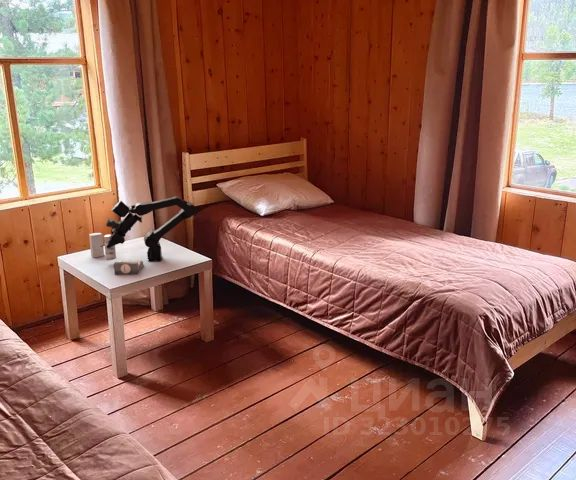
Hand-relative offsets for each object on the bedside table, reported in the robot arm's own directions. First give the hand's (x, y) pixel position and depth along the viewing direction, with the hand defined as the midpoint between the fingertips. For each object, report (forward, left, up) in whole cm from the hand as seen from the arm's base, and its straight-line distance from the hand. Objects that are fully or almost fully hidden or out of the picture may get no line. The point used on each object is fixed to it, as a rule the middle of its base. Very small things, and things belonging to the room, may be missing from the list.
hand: (106, 246), depth 280 cm
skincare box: (+10, -14, -10) cm, 20 cm away
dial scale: (-12, +9, -10) cm, 18 cm away
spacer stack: (-1, 0, -7) cm, 7 cm away
